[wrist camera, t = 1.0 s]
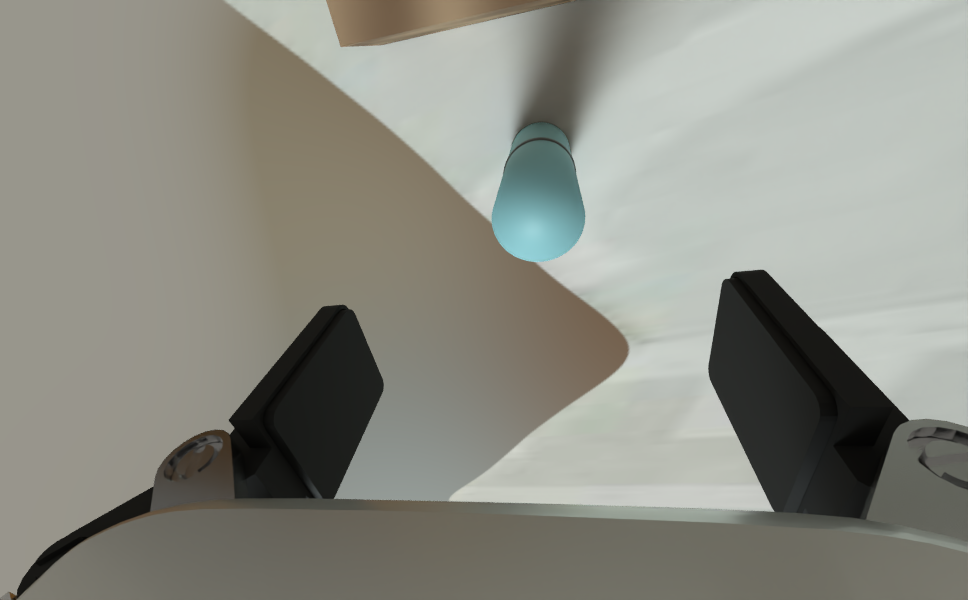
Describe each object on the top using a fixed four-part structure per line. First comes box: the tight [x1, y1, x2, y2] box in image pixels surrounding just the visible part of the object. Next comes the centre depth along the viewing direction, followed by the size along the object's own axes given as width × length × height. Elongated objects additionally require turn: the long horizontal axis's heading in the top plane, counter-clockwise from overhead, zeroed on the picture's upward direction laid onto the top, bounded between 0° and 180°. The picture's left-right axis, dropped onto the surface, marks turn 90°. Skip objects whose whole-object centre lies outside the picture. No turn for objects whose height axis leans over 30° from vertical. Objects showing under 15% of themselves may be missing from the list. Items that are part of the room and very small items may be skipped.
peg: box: [492, 122, 585, 262], centre depth 22 cm, size 4×4×12 cm
